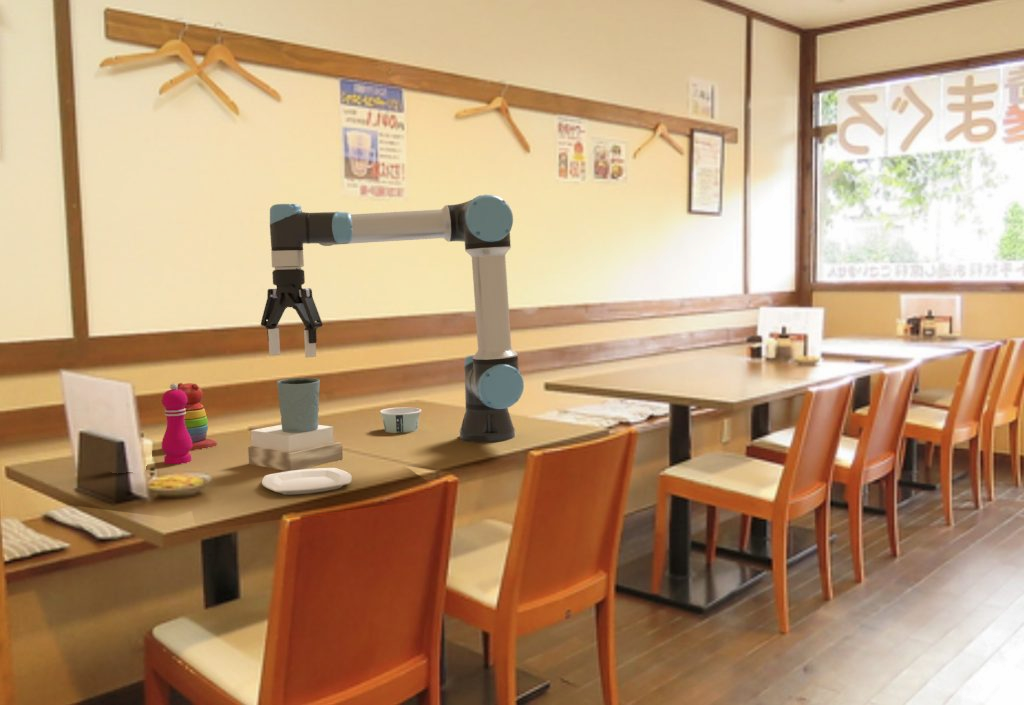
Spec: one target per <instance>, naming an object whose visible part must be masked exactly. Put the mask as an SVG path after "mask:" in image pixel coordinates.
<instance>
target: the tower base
mask: <svg viewBox="0 0 1024 705" xmlns="http://www.w3.org/2000/svg"><path fill="white" fill-rule="evenodd" d="M247 450H248V451H247V454H248V464H249V465H252V466H258V467H263V468H269V469H274V470H281V471H284V472H286V471H293V470H302V469H309V468H311V467H315V466H318V465H319V466H320V465H325V464H327V463H332V462H334V461H335V462H338V460H339V461H342V459H344V457H343V454H344V453H343V442H340V441H334V443H330V444H325V445H321V446H316V447H312V448H307V449H303V450H298V451H294V452H283V451H277V450H270V449H264V448H258V447H252V445H251V446H248V448H247Z"/></svg>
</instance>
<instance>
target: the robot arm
mask: <svg viewBox="0 0 1024 705" xmlns="http://www.w3.org/2000/svg"><path fill="white" fill-rule="evenodd" d="M513 214H514V213H513V210H512V209H511V207H510V206H509V204H508V203H507V202H506V201H505V200H504V199H503V198H502V197H500V196H497V195H493V194H482V195H481V194H480V195H478V196H476V197H474V198H472V199H469V200H468V201H465V202H461V203H457V204H446V205H444V206H443V207H442V208H441V209H425V210H407V211H393V212H392V211H391V212H388V211H387V212H374V213H373V212H372V213H354V214H351V213H349V212H345V211H344V212H342V211H335V212H334V211H331V212H330V211H328V212H327V211H325V212H305V211H303V210H302V206H301V205H300V204H298V203H297V204H296V203H278V204H273V205H271V207H270V208H269V233H270V245H271V246H270V247H271V249H270V251H271V254H270V255H271V267H272V268H274V269H273V270H272V274H271V275H272V284H273V285H274V286H276V288H268V289H267V298H266V301H265V304H264V309H263V312H262V318H261V320H260V325H261V327H264V328H266V329H267V342H268V353H269V356H279V355H281V345H280V329H279V326H278V325H279V323H280V322H281V321H280V320H281V319H282V317H283V314H284V313H285V311H286V309H288V308H292V309H293V310H295V312H296V313H297V315H298V316H299V319H300V320H301V322H302V324H303V325H304V327H305V328H304V330H303V333H304V335H303V336H304V355H305V356H304V358H307V359H308V358H314V357H315V358H316V357H317V346H316V343H317V329H318V328H322V327H323V322H322V319H321V316H320V314H319V310H318V308H317V306H316V303H315V300H314V297H313V289H312V288H310V287H309V288H303V287H302V286H303V285H304V284H305V283H306V281H305V277H306V276H305V270H304V269H302V268H304V266H305V263H304V262H305V261H304V260H305V259H304V244H319V245H320V246H322V247H323V246H324V247H329V246H333V245H334V246H337V245H338V246H339V245H350V244H364V243H365V244H367V243H380V242H381V243H383V242H385V243H386V242H399V241H401V242H402V241H415V240H416V241H417V240H432V239H444V240H445V241H446V242H463V243H464V248H465V249H464V250H465V252H466V253H467V255H469V256H470V257H471V265H472V266H471V267H472V282H473V295H474V296H473V297H474V309H475V325H476V336H477V337H476V339H477V351H476V353H475V354H474V355H473V354H472V355H468V356H466V357H465V359H464V366H463V369H464V390H465V392H464V393H465V394H464V397H465V398H464V399H465V412H464V416H463V419H462V423H461V427H460V429H459V439H460V440H462V441H465V442H469V443H470V442H472V443H496V442H504V441H505V442H506V441H508V440H512V439H515V437H516V430H515V427H514V424H513V420H512V418H511V413H510V412H509V408H511V407H512V406H514V405H515V404H516V403H518V401H519V400H520V399H521V397H522V395H523V392H524V386H525V385H524V378H523V375H522V374H521V372H520V370H519V355H518V354H519V353H518V352H516V351H515V350H514V349H513V348H512V339H511V336H512V335H511V325H510V323H511V322H510V308H509V307H510V306H509V305H510V304H509V292H508V278H507V277H508V276H507V264H506V263H507V261H506V259H507V258H506V254H507V253H508V251H510V250H511V248H512V245H511V234H510V232H511V231H512V228H513V223H514V215H513Z"/></svg>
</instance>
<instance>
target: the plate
mask: <svg viewBox="0 0 1024 705" xmlns="http://www.w3.org/2000/svg"><path fill="white" fill-rule="evenodd" d="M352 479H353V478H352V475H351V473H350V472H347V471H345V470H343V469H340V468H337V467H324V468H323V467H321V468H319V467H318V468H304V469H300V470H293V471H280V472H275V473H274V472H273V473H270V474H269V473H268V474H266V475H264V477H263V478H262V481H261V485H263V487H264V488H266V489H268V490H271V491H273V492H275V493H279V494H282V495H283V496H287V495H288V496H290V495H305V494H306V495H307V494H315V493H321V492H326V491H333V490H338V489H341V488H342V487H343V486H345V485H349V484H351V482H352Z"/></svg>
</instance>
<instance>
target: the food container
mask: <svg viewBox="0 0 1024 705" xmlns="http://www.w3.org/2000/svg"><path fill="white" fill-rule="evenodd" d="M421 412H422V409H421V408H417V407H407V406H406V407H403V406H402V407H391V408H384V409H381V410H380V411H379V414H381V417H382V424H383V428H384V432H386V433H389V434H404V433H411V432H416V431H418V430H419V424H420V423H419V421H420V413H421Z"/></svg>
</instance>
